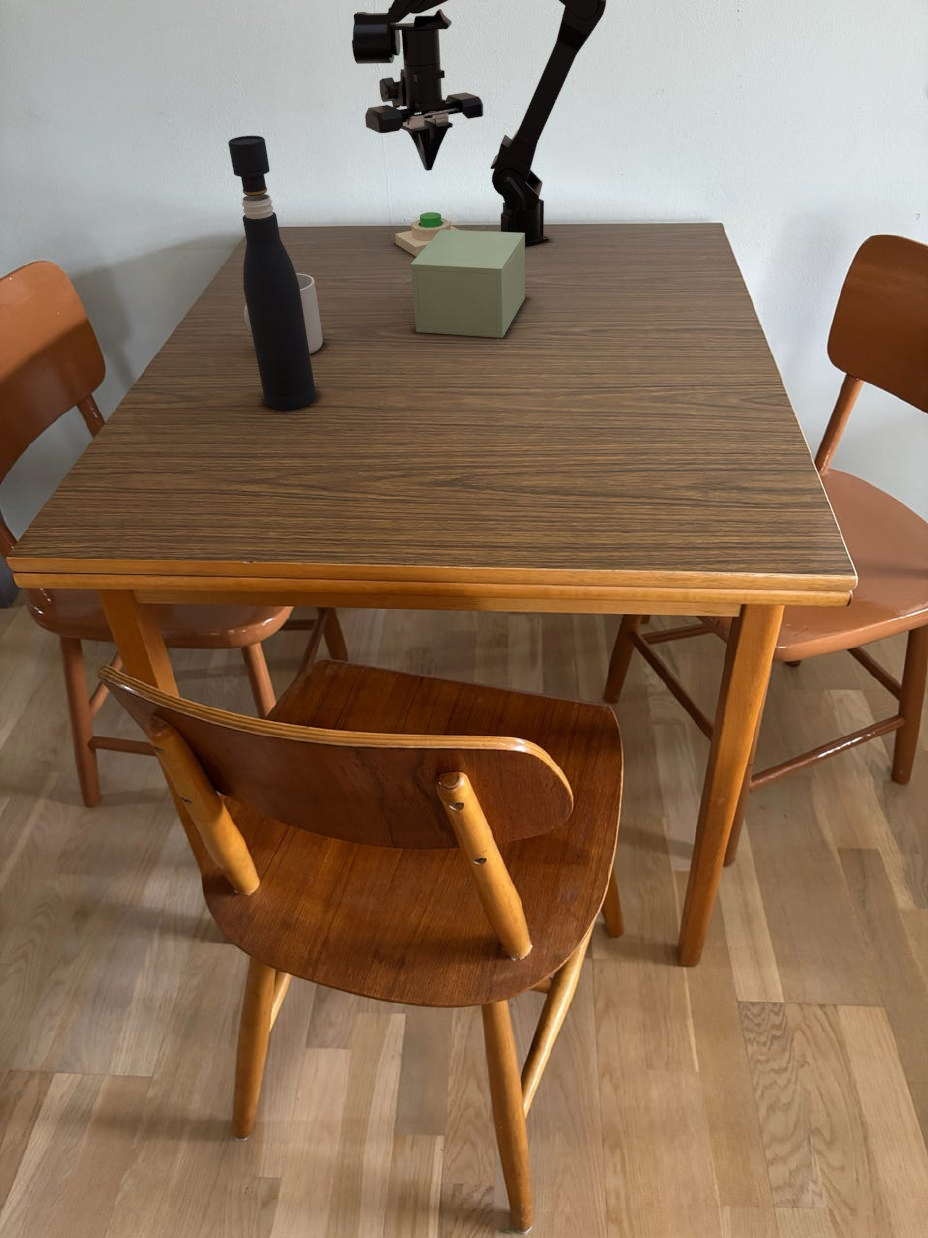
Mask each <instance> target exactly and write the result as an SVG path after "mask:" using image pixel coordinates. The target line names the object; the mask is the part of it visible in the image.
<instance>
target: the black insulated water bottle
mask: <svg viewBox="0 0 928 1238" xmlns="http://www.w3.org/2000/svg"><path fill="white" fill-rule="evenodd" d="M227 144H228V149H229V155H230V160H231V166H232V171H233V175H234V176H235V177H240V180H241V185H242V194H244V195H245V196H244V197H242V202H241V205H242V207H243V209H242V212H243V213H244V215H243V216H242V223H243V229H244V234H245V239H246V240H245V241H246V244H245V250H244V251H245V252H244V257H243V258H244V259H243V269H242V275H243V276H242V284H243V285H242V287H243V294H244V299H245V305H246V304H247V309H248V315H249V320H250V325H251V331H252V335H251V336H252V340H253V341H252V342H253V345H254V351H255V356H256V361H257V367H258V372H259V378H260V383H261V387H262V393H263V399H264V402H265V405H266V406H268V407H269V408H271V409H273V410H278V411H293V410H297V409H298V410H299V409H302V408H304V407H307V406H309V405H310V404H312V403H313V402H314V401H315V400H316V397H317V393H316V387H315V386H316V385H315V380H314V374H313V368H312V367H313V366H312V360H311V354H310V353H309V346H308V340H307V333H306V327H305V320H304V314H303V307H302V300H301V294H300V287H299V282H298V279H297V276H296V270H295V267H294V265H293V262H292V259H291V257H290V256H289V254H288V253H289V252H288V251H287V249H286V247H285V245H284V244H283V242H282V239H281V236H280V235H281V234H280V229H279V224H278V216H277V213H276V212H275V211H273V210H274V206H273V205H272V203H273V200H272V199H271V195H269V194H267V192H268V187H267V184H266V179H265V175H266V174H269V173H270V171H271V170H270V164H269V163H270V162H269V158H268V157H269V156H268V151H267V144H266V139H265V137H263V136H261V135H242V136H237V137H234V138H231V139H229V141H228V142H227Z"/></svg>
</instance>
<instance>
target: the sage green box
mask: <svg viewBox="0 0 928 1238" xmlns="http://www.w3.org/2000/svg"><path fill="white" fill-rule="evenodd" d="M525 262H526V246H525V233H513V232H501V231H487V230H464V229H458V230H443V229H441V230H440V231H439V232H438V233H437V234H436V235H435V237H434V238H433V239H432V240H431V241H430V242H429V244H428V245H427V246H426V247H425V248H424V249H423V251H422V252H421V253H420V254H419V255H418V256H417V257H415V258H414V260H413V261H412V262H411V263H410V270H411V271H410V272H411V283H412V297H413V311H414V323H415V332H416V333H426V334H437V335H438V334H439V335H454V336H455V335H456V336H468V337H469V336H470V337H483V338H484V337H485V338H486V337H487V338H497V339H503V338H504V336H505V334H506V333H507V331H508V329H509V327H510V326H511V324H512V322H513V320H514V319H515V317H516V315H517V313H518V312H519V309H520V308H521V306H522V304H523V303H524V301H525V299H526V263H525Z"/></svg>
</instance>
